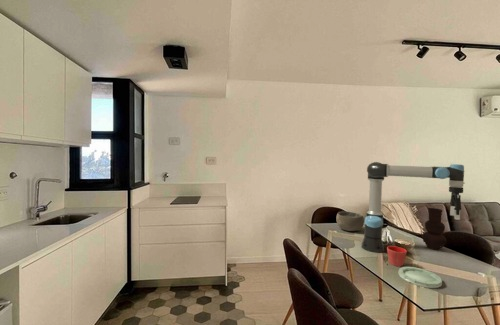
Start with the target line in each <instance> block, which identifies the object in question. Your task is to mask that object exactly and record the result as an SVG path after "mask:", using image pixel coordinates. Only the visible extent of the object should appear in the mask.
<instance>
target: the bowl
mask: <svg viewBox="0 0 500 325" xmlns="http://www.w3.org/2000/svg"><path fill="white" fill-rule="evenodd" d="M335 218H336V223H337V225H338V226H339V228H340V229H341V230H343V231H347V232H356V231H359V230H362V228H363V227H364V226H365V217H364V215H363V214H361V213H357V212H353V211H338V212H337V214H336V217H335Z"/></svg>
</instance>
